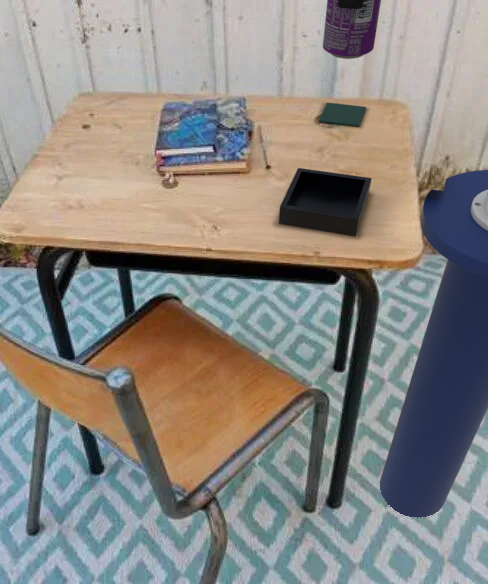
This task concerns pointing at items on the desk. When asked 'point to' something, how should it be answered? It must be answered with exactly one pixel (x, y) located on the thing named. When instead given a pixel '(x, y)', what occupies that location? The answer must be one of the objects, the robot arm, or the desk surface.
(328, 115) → the rubber mat
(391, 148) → the desk surface
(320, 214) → the black square tray
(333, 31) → the beverage can
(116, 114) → the desk surface
